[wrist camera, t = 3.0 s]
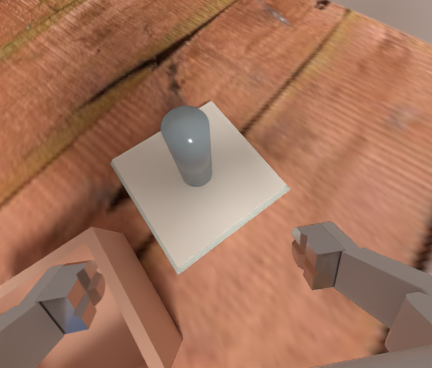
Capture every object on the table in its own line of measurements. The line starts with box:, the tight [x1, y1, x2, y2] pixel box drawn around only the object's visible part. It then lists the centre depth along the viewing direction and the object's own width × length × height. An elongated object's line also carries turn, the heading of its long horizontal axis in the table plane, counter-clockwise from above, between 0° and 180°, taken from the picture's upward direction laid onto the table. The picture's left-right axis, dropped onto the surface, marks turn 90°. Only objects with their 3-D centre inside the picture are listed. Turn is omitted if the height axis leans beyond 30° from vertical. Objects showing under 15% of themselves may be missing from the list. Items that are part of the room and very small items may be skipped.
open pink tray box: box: [0, 227, 183, 368], centre depth 15 cm, size 11×11×6 cm
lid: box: [112, 101, 286, 267], centre depth 17 cm, size 13×13×9 cm
